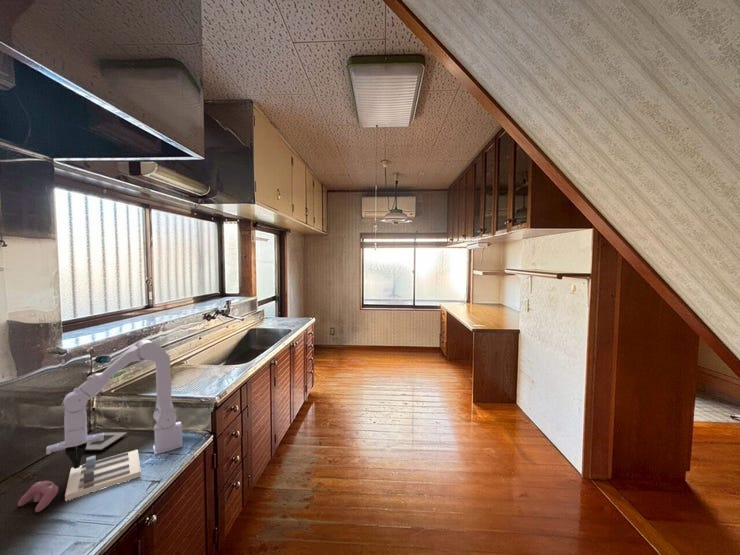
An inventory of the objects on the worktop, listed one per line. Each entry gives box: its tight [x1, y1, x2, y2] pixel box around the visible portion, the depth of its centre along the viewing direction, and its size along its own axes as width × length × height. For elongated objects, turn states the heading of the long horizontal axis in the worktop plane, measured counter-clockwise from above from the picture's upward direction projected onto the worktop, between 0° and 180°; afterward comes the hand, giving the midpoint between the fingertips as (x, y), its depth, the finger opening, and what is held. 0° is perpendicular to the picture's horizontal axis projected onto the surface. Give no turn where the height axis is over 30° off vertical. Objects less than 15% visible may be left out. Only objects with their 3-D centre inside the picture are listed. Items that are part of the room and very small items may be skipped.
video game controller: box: [17, 480, 59, 513], centre depth 100 cm, size 10×5×7 cm, turn 71°
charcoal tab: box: [84, 468, 94, 483], centre depth 106 cm, size 2×2×3 cm
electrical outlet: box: [76, 432, 128, 452], centre depth 134 cm, size 13×10×2 cm
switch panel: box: [64, 449, 142, 502], centre depth 113 cm, size 19×18×3 cm
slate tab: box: [85, 455, 97, 469], centre depth 114 cm, size 2×2×3 cm
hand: (77, 466), depth 112 cm, fingers closed
